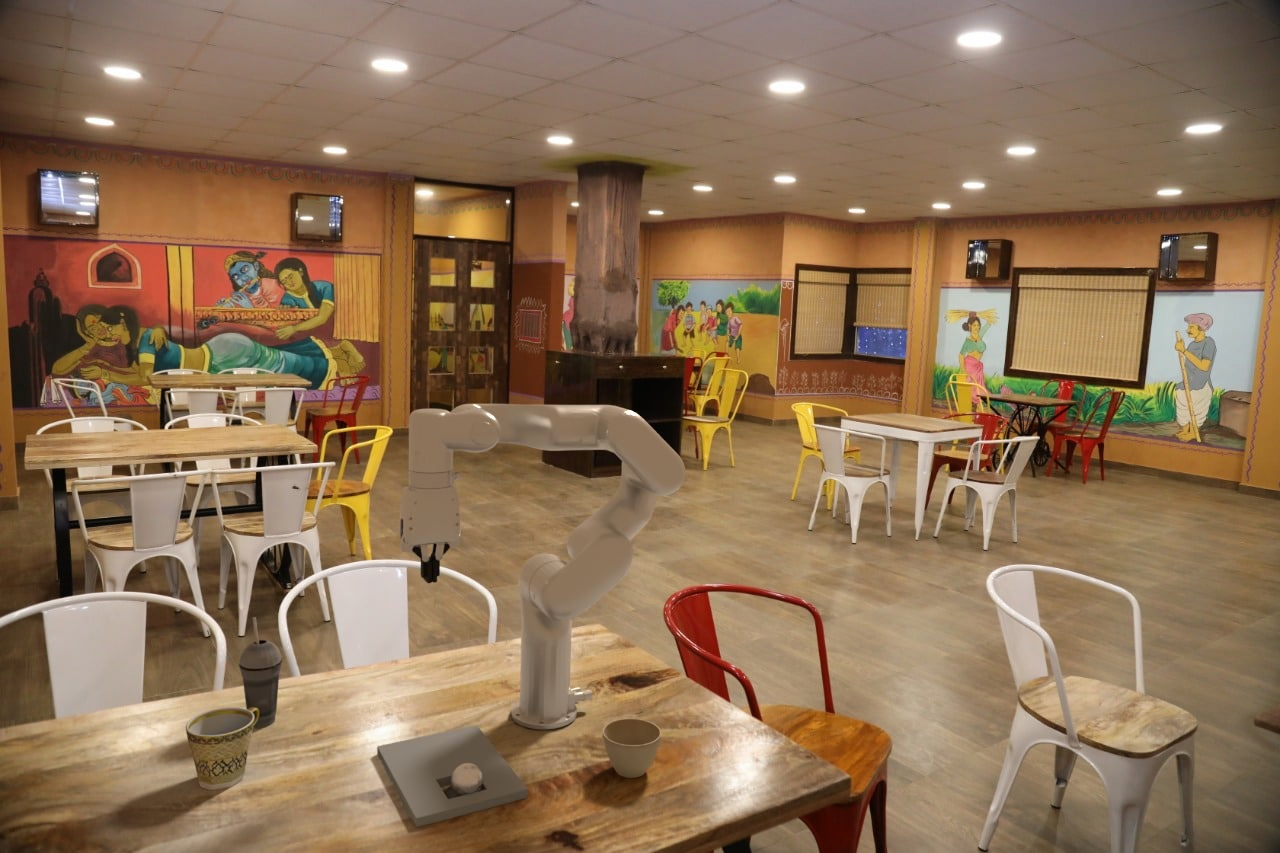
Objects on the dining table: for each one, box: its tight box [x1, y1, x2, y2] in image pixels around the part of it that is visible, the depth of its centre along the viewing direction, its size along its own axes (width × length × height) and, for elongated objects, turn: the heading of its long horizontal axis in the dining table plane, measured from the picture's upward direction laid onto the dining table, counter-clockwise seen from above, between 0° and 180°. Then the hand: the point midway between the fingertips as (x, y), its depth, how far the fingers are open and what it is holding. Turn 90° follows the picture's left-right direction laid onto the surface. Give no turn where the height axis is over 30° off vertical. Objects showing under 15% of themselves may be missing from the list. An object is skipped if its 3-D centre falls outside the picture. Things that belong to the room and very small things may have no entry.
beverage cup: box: [238, 616, 283, 729], centre depth 159 cm, size 7×7×20 cm
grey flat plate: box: [376, 724, 529, 828], centre depth 145 cm, size 18×24×2 cm
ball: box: [450, 763, 483, 796], centre depth 139 cm, size 5×5×5 cm
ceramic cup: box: [185, 706, 259, 791], centre depth 142 cm, size 13×10×10 cm
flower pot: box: [602, 717, 662, 779], centre depth 148 cm, size 10×10×7 cm
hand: (430, 580), depth 154 cm, fingers closed
